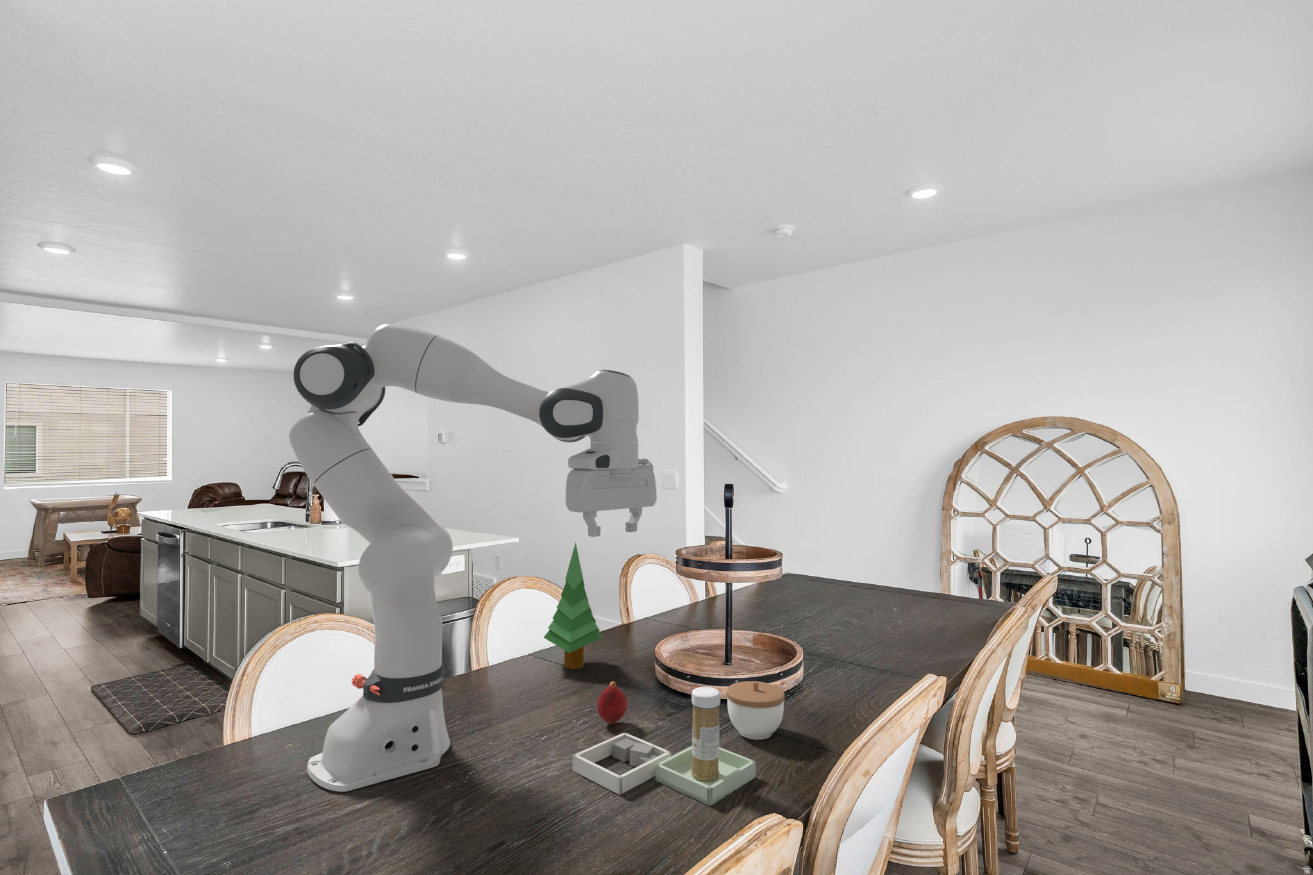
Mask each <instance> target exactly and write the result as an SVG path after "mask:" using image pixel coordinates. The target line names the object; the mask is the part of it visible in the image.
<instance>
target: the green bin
mask: <svg viewBox="0 0 1313 875" xmlns="http://www.w3.org/2000/svg"><path fill="white" fill-rule="evenodd" d="M756 766H757V761H756V760H753V759H750V758H748V757H745V756H743V755H740V754H738V753H735V752H734V751H733V752H732V751H730V750H727V749H725V748H724V747H721V746H719V757H718V770H719V776H718V777H717V778H716V779H714V780H710V781H702V780H698V779H696V778H694V777H693V776H692V773H691V770H692V745H691V746H689V747H687V748H685V749H683V750H681V751H679V752H677V753H675V754H674V755H671V757H670V758H668V759H666V760H664V761H662V762H660V763H658V764H656V767H655V776H654V777H655V778H654V779H655V781H656V782H657V783H660V784H662V785H664V786H665V787H668V788H670V789H672V790H675V791H677V792H679V793H681V794H683V795H685V796H687V797H690V798H691V799H694V800H695V801H698V802H700V803H702V804H705V805H706V806H709V807H712V806H713V805H714V804H717V803H718V802H719V801H721V800H722V799H724V798H726V797H727V796H728V795H730V794H732V793H733V792H735V791H737V790H738V789H739V788H741V787H743V786H744V785H745V784H747V783H749V782H750V781H752V780H753V779H755V778H757V775H756V774H757V770H756V769H757V768H756ZM734 790H735V791H734ZM726 795H727V796H726Z"/></svg>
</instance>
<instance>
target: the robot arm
mask: <svg viewBox="0 0 1313 875" xmlns="http://www.w3.org/2000/svg"><path fill="white" fill-rule="evenodd" d="M293 382H294V386H295V388H296V390H297V392H298V393H299V395H300V396H301V397H302V398H303V399H304V400H305V401H306V402H308V403H309V404H310V405H311V406H310V408H309V409H308V411H307V413H306V414H304V415H302V416H301V417H299V418H298V419H297V420H296V421H295V422H294V424H292V427H291V428H290V431H289V434H288V438H289V443H290V445H291V448H292V450H293V452H294V454H295V456H296V458H297V460H298V462H299V464H300V465H301V468H302V470H304V472H305V474H306V476H307V477H308V478H309V480H310V482H311V483H312V485H313V486H314V487H315V488H316V490H317V491H318V492H319V494H320V495H321V496H322V498H323V499H324V501H325V502H326V503H327V504H328V506H329V508H330V509H331V510H332V511H333V512H334V514H335V515H336V517H337V518H338V519H339V521H341V523H343V525H345V526H347V527H348V528H351V529H352V530H354V531H355V532H357V533H358V534H359V535H360V536H361V537H362V538H363V539H365V540H366V541H367V542H368V543H369V544H368V546H367V547H366V548H365V550H364V551H363V552H362V554H361V556H360V558H359V561H358V576H359V579H360V580H361V583H362V585H363V586H364V587H365V588H366V589H367V593H368V598H369V603H370V608H371V613H372V617H373V619H372V620H373V626H374V627H373V628H374V651H373V652H374V662H373V663H374V665H373V668H374V669H373V670H371V673H370V675H368V677H366V676H363V674H359V673H358V674H355V675H354V676H353V678H352V679H351V685H353V687H355V688H357V689H359V690H360V689H361V690H362V691H363V692H362V693H363V694H362V695H361V696H360V697H359V698H358V699H357V700H356V701H355V702H354V703H353V704H352V705H351V707H348V709H347V710H346V711H344V713H343V714H341V715H340V716H339V717H338V718H337V719H336V720H335V721H333V722H332V723H331V724H330V725H329V727H328V729H327V731H326V734H325V737H324V742H323V746H322V747H323V748H322V752H320V753H318V754H316V755H314V756H311V757H310V758H309V760H308V762H307V766H306V772H307V774H308V777H309V778H310V779H311V780H312V781H313V782H314V783H316V784H317V785H318V786H319V787H322V788H324V789H326V790H329V791H333V792H339V793H340V792H341V793H344V792H345V793H346V792H349V791H353V790H357V789H361V788H364V787H368V786H371V785H375V784H379V783H382V782H384V781H389V780H392V779H396V778H399V777H403V776H407V775H411V774H414V773H418V772H420V771H426V770H428V769H431V768H435V767H437V766H439V765H440V763H441V758H442V756H443V755H444V754H445V753H446V752H447V751H448V750H449V748H450V746H451V740H450V738H449V733H448V730H447V725H446V717H445V711H444V703H443V702H444V701H443V693H444V689H445V664H444V663H443V662H442V661H443V660H442V659H443V657H442V655H443V619H442V616H441V614H440V612H439V609H438V603H437V596H436V591H435V581H436V578H437V577H438V576H440V575H441V573H443V572H444V571H445V569H446V568H447V566H448V565H449V563H450V561H451V558H452V554H453V550H454V549H453V547H454V546H453V539H452V538H451V537H452V536H451V535H450V533H449V531H448V530H446V529H445V528H444V527H443V526H441V525H440V524H439V523H437V522H436V521H435V520H434V519H433V518H432V516H431V515H429V513H428V512H426V510H425V509H424V508H423V507H422V506H421V505H420V504H419V503H418V502H417V501H416V500H415V499H414V498H413V497H411V496H410V495H409V494H408V493H407V492H406V491H405V490H404V488H402V486H401V485H400V484H399V483H398V481H396V479H395V478H394V477H393V475H392V473H391V472H390V471H389V470H388V468H387V467H386V465H384V463H383V461H381V459H380V458H379V456H378V455H377V454H376V452H375V450H374V449H373V448H372V447H371V445H370V444H369V443H368V442H367V440H366V439H365V438H364V436H363V434H362V433H361V431H360V429H359V427H361V426H364V424H365V422H366V421H367V420H368V419H369V418H370V417H371V415H372V414H373V413H374V412H375V411H376V410H377V409H378V408H379V407H380V405H381V404H382V403H383V401H384V398H385V396H386V387H398V388H401V389H404V390H407V391H410V392H413V393H416V394H419V395H421V396H424V397H428V398H432V399H435V400H439V401H444V402H450V403H458V404H467V405H477V406H478V405H479V406H485V407H486V406H487V407H492V408H496V409H500V410H502V411H505V412H508V413H510V414H513V415H516V416H519V417H521V418H524V419H527V420H529V421H532V422H535V423H536V424H538V425H540V426H541V427H542V428H543V429H544V430H545V432H547V433H548V435H550V436H552V437H553V438H555V439H556V440H557V441H560V442H563V443H577V442H579V441H581V440H583V439H585V438H586V437H588V438H589V439H590V448H588V449H585V450H583V451H581V452H578V453H576V454H573V455H571V456H569V457H568V459H567V466H568V469H571V470H570V471H569V472H568V473H567V476H566V482H565V505H566V508H567V509H568V511H569V512H573V513H582V518H583V520H584V522H585V524H586V526H587V535H588V537H590V538H595V537H601V526H600V525H597V522H596V519H595V518H597V516H598V515H597V514H598V513H597V512H603V511H615V510H625V509H629V511H628V512H629V513H630V516H629V518H628V521H626V522H625V524H624V525H625V532H627V533H636V532H637V531H638V522H639V521H640V519H641V517H642V515H643V508H651V507H654V506H655V505H656V503H657V498H658V496H657V483H656V476H655V473H654V465H653V464H652V463H651V461H650V460H649V459H647V458H639V438H638V434H637V429H638V428H637V426H638V423H639V412H640V411H639V406H640V405H639V393H638V387H637V386H638V385H637V383H636V382H635V380H634V378H633V377H631V376H630V375H629V374H626V373H624V372H621V371H616V370H612V369H599V370H596V371H595V372H594V373H593V374H591V375H589V376H588V377H587V378H584V379H582V380H580V381H578V382H574V383H573V384H572V383H571V384H569V385H566V386H562V387H559V388H556V389H555V388H554V390H552V391H547V390H542V389H540V388H537V387H535V386H532V385H528V384H526V383H524V382H521V381H518V380H515V379H514V378H513V379H512V378H510V377H508V376H506V375H504V374H503V373H502V372H499V371H498V370H496V369H495V368H493V367H492V366H491V365H489V363H487V361H485V360H484V359H482V358H481V357H480V356H478V354H476V353H474V352H473V351H471V350H470V349H468V348H466V347H465V346H463V345H461V344H459V343H457V342H455V341H453V340H450V339H449V338H446V337H443V336H441V335H438V334H436V333H432V332H430V331H429V332H428V331H426V330H421V329H418V328H415V327H411V326H405V325H399V324H392V323H385V324H382V325H379V326H378V327H376V328H375V329H374V330H373V331H371V333H370V334H369V335H368V338H367V339H366V342H365V344H363V346H361V345H360V344H358V343H357V342H353V341H351V342H347V343H340V344H333V345H330V344H329V345H322V346H317V347H314V348H312V349H309V350H307V351H305V353H303V354H301V356H300V357H299V358H298V359H297V361H296V363H295V365H294V369H293Z"/></svg>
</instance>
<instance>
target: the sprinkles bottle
mask: <svg viewBox="0 0 1313 875" xmlns="http://www.w3.org/2000/svg"><path fill="white" fill-rule="evenodd" d="M691 703H692V726H691V729H692V732H691V741H692V742H691V746H692V770H691V773H692V776H693V777H694V778H696V779H698V780H702V781H710V780H714V779H716V778H717V777H718V776H719V770H718V757H719V747H720V704H721V692H720V691H719V689H717V688H715V687H709V686H700V687H696V688H694V689H693V690H692V691H691Z"/></svg>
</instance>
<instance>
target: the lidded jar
mask: <svg viewBox="0 0 1313 875" xmlns="http://www.w3.org/2000/svg"><path fill="white" fill-rule="evenodd" d="M726 696H727V697H726V698H727V704H726V705H727V706H726V707H727V712H728V715H729V716H728V717H729V719H730V721H731V724H732V725H733V727H734V728H735V729H736V730H737V731H738V733H739V735H740V736H742V737H743V738H746V739H749V740H755V741H758V740H761V741H762V740H765V739H769V738H771V736H772V735H773V734H774V732H776V731H777V729H779V727H780V725H781V723H782V720H783V716H784V710H785V708H784V707H785V698H786V697H785V696H786V695H785V692H784V689H782V688H781V687H779V686H777V685H775V684H772V683H769V682H768V683H767V682H765V681H764V682H763V681H756V680H755V681H754V680H753V681H749V680H748V681H747V680H746V681H738V682H735V683H732V684H730V685H729V686H728V687H727V689H726Z"/></svg>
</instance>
